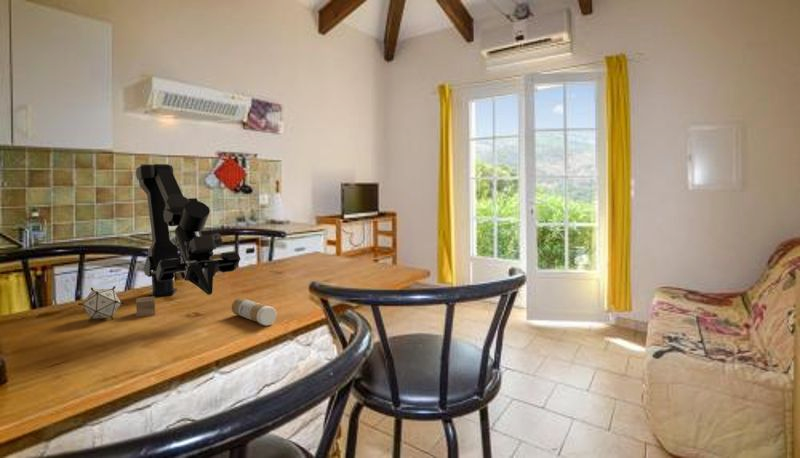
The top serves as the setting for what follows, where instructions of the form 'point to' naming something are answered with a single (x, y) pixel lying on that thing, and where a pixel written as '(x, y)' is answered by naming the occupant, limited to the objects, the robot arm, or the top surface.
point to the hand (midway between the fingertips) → (210, 293)
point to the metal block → (145, 306)
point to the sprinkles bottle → (254, 311)
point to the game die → (101, 303)
